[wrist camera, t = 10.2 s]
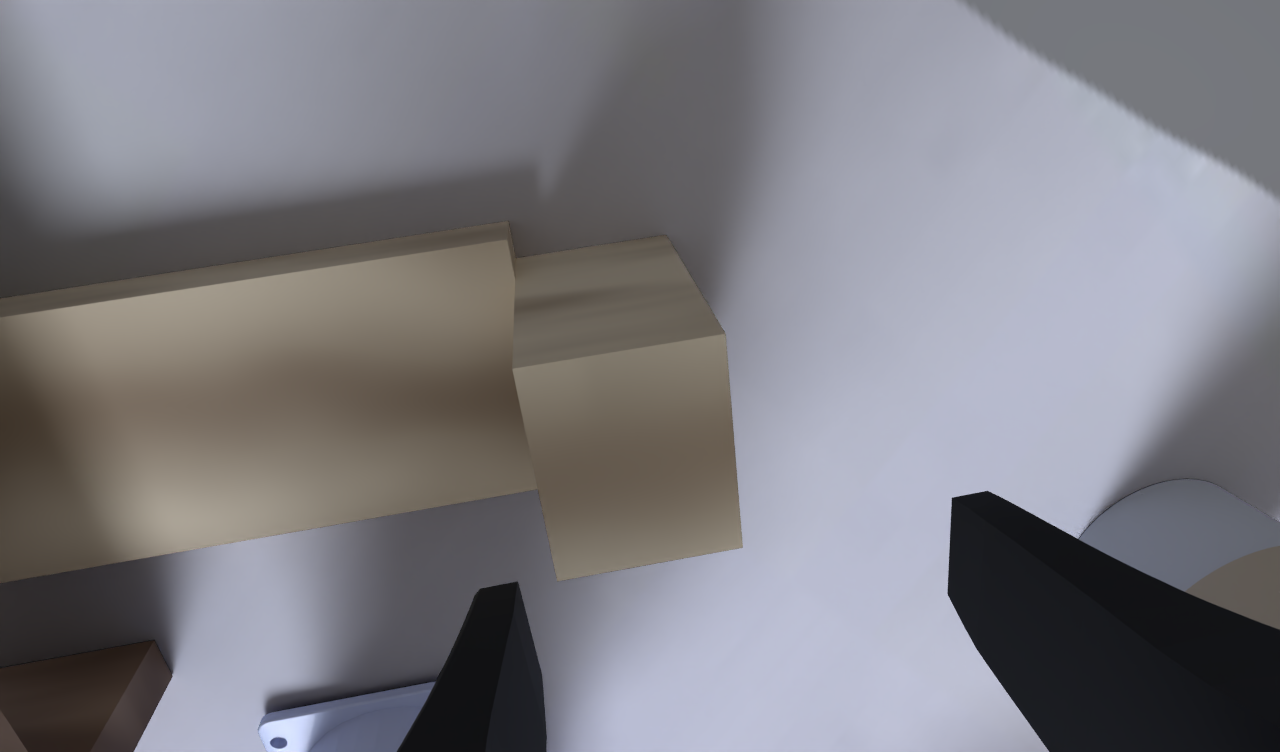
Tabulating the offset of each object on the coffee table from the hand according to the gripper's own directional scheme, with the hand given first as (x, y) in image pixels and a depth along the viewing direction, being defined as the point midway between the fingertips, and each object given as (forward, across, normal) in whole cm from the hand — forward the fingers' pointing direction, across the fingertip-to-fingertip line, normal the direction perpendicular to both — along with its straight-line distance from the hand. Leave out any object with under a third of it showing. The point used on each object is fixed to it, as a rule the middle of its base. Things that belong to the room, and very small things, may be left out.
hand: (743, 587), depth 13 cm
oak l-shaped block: (+10, +9, -1) cm, 14 cm away
